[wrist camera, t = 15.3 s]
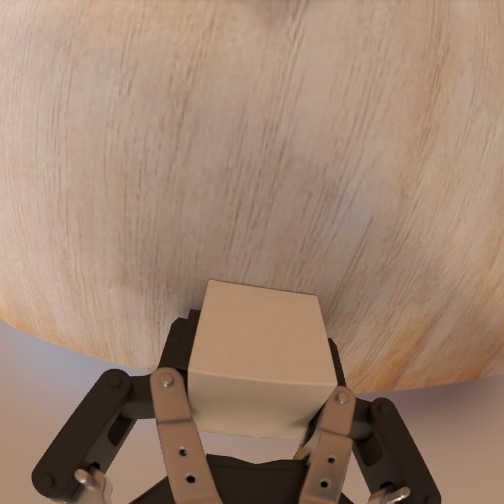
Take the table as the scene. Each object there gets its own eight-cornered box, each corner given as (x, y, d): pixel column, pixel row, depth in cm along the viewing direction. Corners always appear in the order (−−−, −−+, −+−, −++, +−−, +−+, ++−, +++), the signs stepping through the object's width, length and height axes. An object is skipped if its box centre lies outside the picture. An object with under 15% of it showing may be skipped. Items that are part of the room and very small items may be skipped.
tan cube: (317, 294, 13) (339, 384, 8) (289, 361, 15) (296, 439, 11) (208, 278, 12) (187, 369, 8) (201, 350, 15) (187, 429, 11)
